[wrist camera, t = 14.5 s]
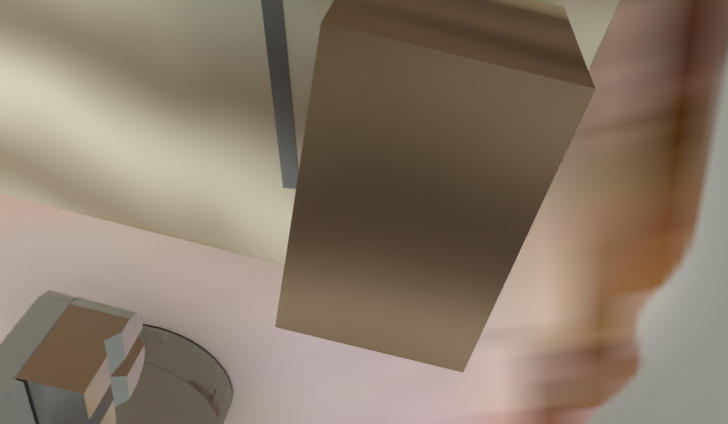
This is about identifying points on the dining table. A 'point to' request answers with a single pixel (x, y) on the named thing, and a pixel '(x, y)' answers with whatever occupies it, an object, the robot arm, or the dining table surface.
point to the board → (173, 110)
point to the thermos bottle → (176, 384)
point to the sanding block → (425, 168)
